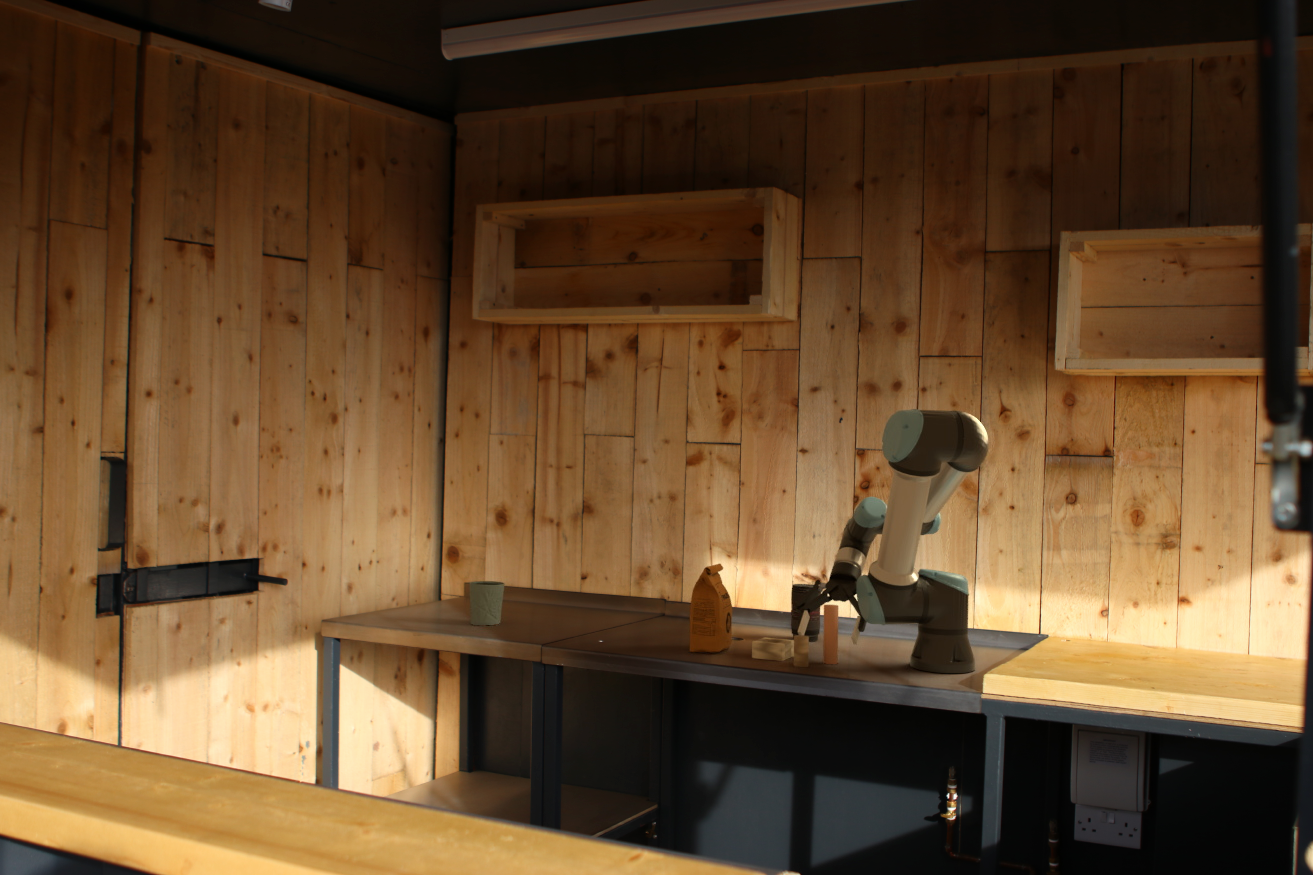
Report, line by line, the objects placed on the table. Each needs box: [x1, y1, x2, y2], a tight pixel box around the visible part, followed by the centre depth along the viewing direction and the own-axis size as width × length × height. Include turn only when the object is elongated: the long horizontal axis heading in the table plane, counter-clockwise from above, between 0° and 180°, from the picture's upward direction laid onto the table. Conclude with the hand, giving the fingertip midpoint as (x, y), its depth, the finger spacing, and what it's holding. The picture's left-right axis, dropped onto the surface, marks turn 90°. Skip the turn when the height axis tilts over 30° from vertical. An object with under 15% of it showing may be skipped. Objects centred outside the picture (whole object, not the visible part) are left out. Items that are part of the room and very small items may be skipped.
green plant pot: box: [468, 580, 505, 626], centre depth 324 cm, size 10×10×12 cm
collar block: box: [751, 637, 794, 662], centre depth 278 cm, size 8×8×4 cm
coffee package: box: [689, 563, 733, 654], centre depth 286 cm, size 10×12×22 cm
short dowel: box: [793, 635, 810, 668], centre depth 268 cm, size 4×4×7 cm
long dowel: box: [822, 604, 839, 665], centre depth 271 cm, size 4×4×14 cm
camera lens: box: [790, 583, 822, 643], centre depth 305 cm, size 8×8×15 cm
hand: (826, 638), depth 270 cm, fingers open, 13 cm apart
